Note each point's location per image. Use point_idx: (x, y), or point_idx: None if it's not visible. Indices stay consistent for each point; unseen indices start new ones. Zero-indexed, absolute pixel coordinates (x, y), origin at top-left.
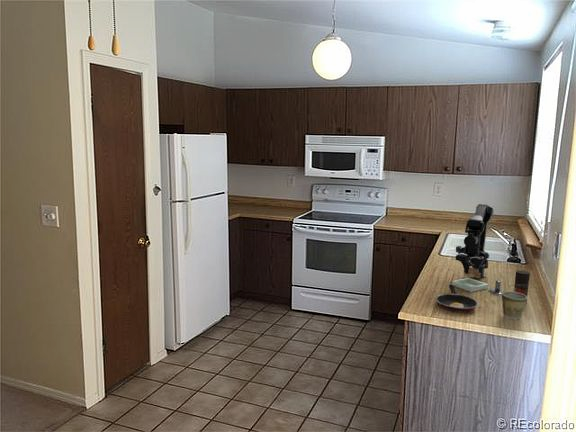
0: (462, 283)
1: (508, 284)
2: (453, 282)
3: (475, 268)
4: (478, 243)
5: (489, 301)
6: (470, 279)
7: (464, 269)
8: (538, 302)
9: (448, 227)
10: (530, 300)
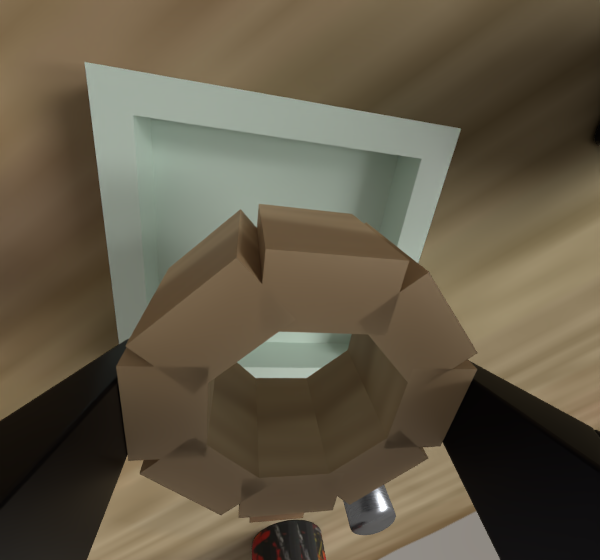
0: (290, 140)
1: (586, 353)
2: (96, 99)
3: (442, 411)
4: None
5: (123, 498)
6: (411, 186)
7: (45, 412)
8: (364, 556)
9: None
10: (363, 536)
